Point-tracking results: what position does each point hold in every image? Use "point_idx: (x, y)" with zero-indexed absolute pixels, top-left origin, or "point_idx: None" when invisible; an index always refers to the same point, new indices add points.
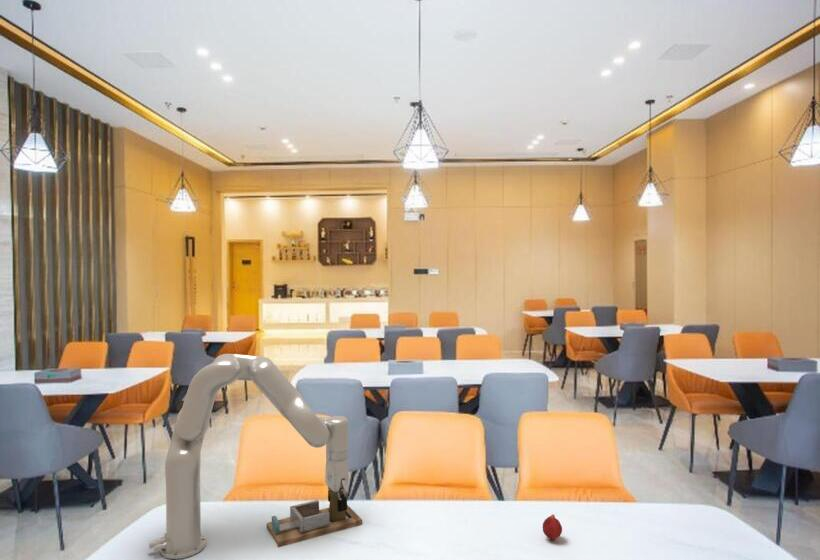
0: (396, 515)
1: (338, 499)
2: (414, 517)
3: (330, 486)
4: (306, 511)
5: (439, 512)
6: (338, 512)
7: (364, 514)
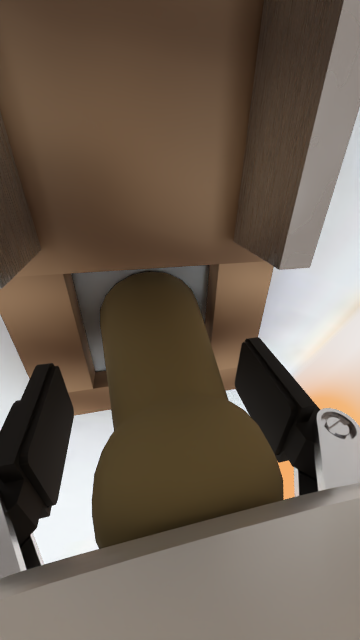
0: (86, 487)
1: (14, 469)
2: (51, 517)
3: (152, 637)
4: (268, 117)
5: (61, 550)
6: (104, 353)
7: None
